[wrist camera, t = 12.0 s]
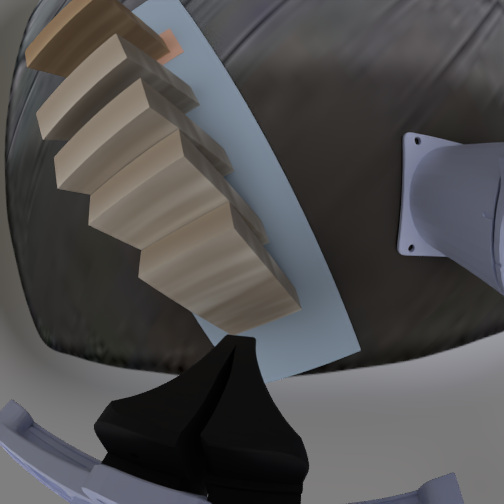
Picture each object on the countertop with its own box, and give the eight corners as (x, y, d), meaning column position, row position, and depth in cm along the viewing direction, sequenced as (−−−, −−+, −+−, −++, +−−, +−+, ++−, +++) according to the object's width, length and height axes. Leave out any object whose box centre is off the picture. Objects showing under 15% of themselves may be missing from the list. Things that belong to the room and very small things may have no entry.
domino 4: (269, 242, 16) (183, 156, 8) (198, 275, 17) (88, 224, 10) (261, 219, 17) (178, 128, 9) (193, 253, 18) (90, 195, 10)
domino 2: (200, 104, 15) (127, 57, 7) (138, 146, 16) (43, 139, 8) (190, 86, 15) (115, 33, 6) (130, 127, 16) (36, 113, 8)
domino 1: (170, 51, 14) (98, -5, 6) (114, 93, 15) (27, 67, 7) (162, 38, 14) (93, -18, 5) (108, 78, 15) (25, 50, 7)
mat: (359, 347, 19) (361, 350, 18) (245, 385, 21) (244, 389, 21) (171, -11, 12) (169, -13, 12) (76, 61, 15) (73, 60, 14)
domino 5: (302, 309, 16) (233, 227, 10) (232, 335, 18) (138, 277, 11) (295, 288, 18) (228, 201, 11) (229, 315, 19) (141, 250, 12)
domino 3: (234, 171, 15) (149, 107, 7) (166, 209, 17) (57, 188, 8) (224, 149, 16) (140, 77, 7) (159, 188, 17) (54, 157, 8)
